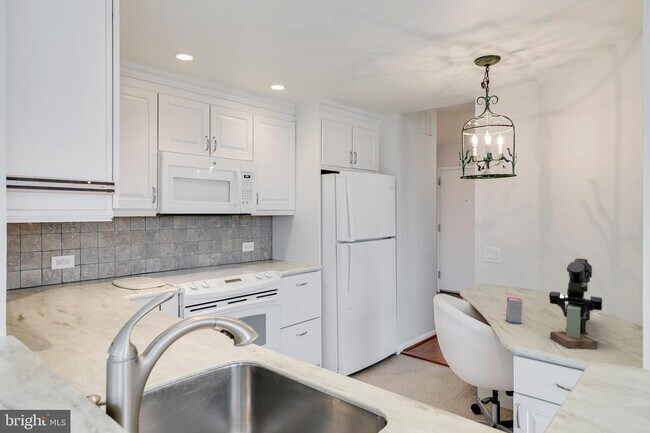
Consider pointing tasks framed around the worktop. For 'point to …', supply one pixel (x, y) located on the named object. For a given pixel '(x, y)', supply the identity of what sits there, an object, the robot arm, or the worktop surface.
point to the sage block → (573, 322)
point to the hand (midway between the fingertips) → (573, 317)
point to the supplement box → (514, 310)
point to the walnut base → (573, 341)
